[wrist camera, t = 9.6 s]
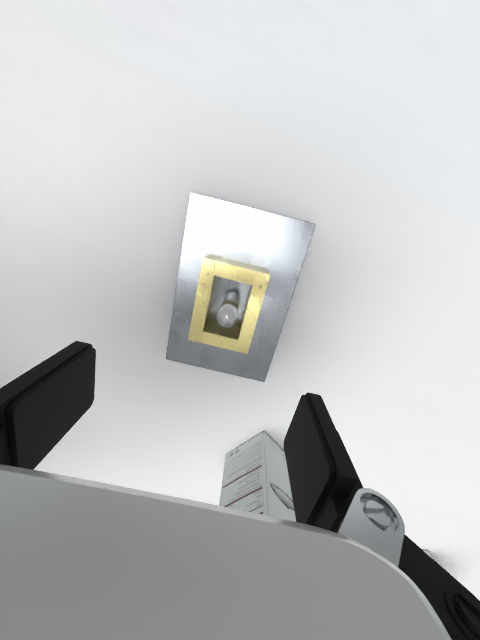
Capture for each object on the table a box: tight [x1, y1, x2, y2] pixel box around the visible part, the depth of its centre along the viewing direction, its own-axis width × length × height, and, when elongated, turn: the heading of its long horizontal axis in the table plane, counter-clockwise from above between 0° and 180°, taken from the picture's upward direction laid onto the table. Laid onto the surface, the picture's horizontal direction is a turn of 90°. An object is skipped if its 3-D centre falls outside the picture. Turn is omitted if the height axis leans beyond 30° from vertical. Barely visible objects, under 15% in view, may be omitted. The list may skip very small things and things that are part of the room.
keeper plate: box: [166, 192, 315, 382], centre depth 23 cm, size 18×12×7 cm, turn 167°
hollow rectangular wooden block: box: [188, 254, 270, 354], centre depth 24 cm, size 8×6×4 cm
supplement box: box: [219, 432, 296, 522], centre depth 29 cm, size 7×7×13 cm
